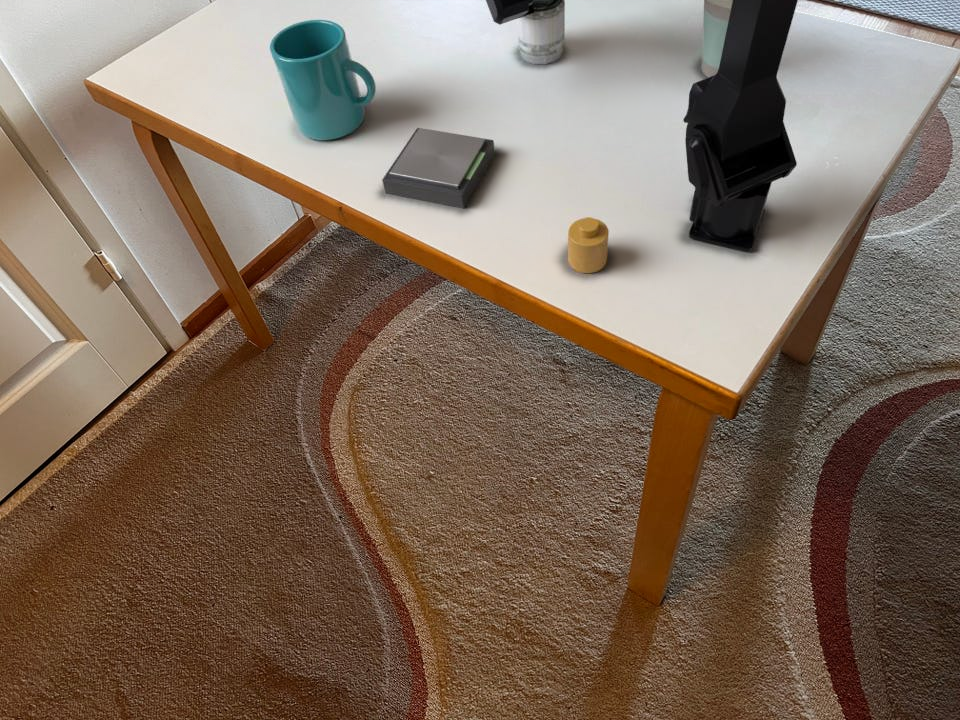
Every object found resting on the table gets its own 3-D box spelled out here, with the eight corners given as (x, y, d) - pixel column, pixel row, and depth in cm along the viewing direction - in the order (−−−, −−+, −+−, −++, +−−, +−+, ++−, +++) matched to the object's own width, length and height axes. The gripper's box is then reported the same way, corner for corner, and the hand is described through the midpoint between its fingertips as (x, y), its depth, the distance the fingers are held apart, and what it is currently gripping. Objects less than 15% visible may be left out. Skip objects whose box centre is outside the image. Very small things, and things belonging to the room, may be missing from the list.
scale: (495, 153, 86) (493, 135, 84) (463, 208, 81) (461, 190, 79) (420, 141, 89) (416, 123, 87) (385, 193, 84) (380, 175, 82)
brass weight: (612, 251, 75) (614, 215, 71) (599, 277, 73) (601, 242, 69) (575, 242, 76) (576, 206, 72) (562, 268, 74) (562, 232, 70)
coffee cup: (737, 44, 95) (756, -51, 85) (772, 77, 90) (797, -20, 80) (678, 60, 94) (691, -34, 84) (710, 95, 89) (728, -1, 79)
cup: (370, 149, 89) (349, 66, 80) (285, 138, 92) (255, 57, 83) (397, 106, 94) (379, 23, 85) (315, 97, 97) (290, 16, 88)
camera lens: (565, 64, 96) (565, 6, 90) (519, 67, 96) (515, 10, 90) (563, 38, 100) (563, -19, 93) (518, 42, 100) (515, -15, 94)
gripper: (628, -156, 79) (575, -82, 94) (476, -108, 75) (447, -40, 90) (661, -54, 81) (604, 2, 96) (515, -3, 77) (480, 47, 92)
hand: (535, 1), depth 94 cm, fingers closed on camera lens, 6 cm apart
